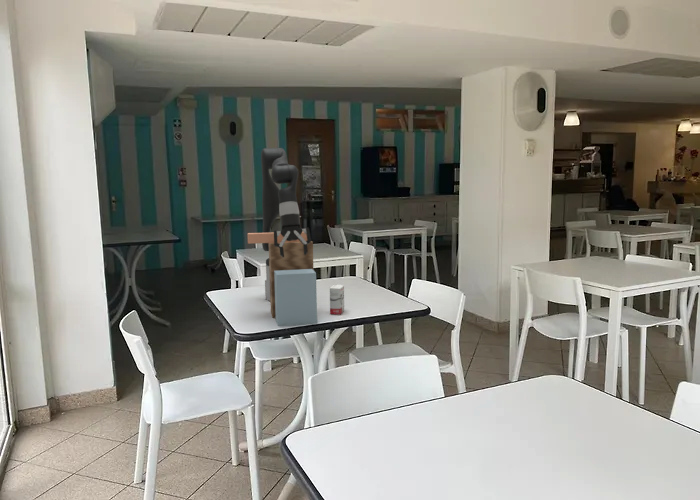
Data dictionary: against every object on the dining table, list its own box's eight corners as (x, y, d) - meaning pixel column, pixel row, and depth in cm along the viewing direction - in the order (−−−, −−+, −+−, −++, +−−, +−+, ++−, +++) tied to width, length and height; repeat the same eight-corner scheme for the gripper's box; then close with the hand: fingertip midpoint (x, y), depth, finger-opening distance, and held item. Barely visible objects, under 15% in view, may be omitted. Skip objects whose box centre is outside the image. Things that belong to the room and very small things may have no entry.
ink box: (340, 315, 238) (340, 288, 237) (329, 314, 239) (329, 288, 238) (344, 310, 247) (344, 284, 245) (334, 309, 248) (333, 284, 246)
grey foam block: (277, 326, 222) (276, 274, 219) (275, 319, 232) (274, 270, 229) (317, 323, 225) (316, 272, 223) (313, 317, 235) (312, 268, 232)
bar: (248, 243, 231) (247, 234, 230) (247, 242, 235) (247, 233, 234) (309, 241, 237) (309, 232, 236) (308, 240, 240) (307, 231, 240)
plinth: (272, 318, 234) (270, 243, 230) (270, 312, 244) (268, 240, 240) (314, 315, 238) (312, 242, 234) (310, 309, 248) (309, 239, 244)
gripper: (306, 215, 219) (311, 255, 217) (271, 218, 217) (275, 259, 214) (308, 211, 212) (313, 252, 210) (271, 214, 209) (275, 256, 207)
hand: (294, 255), depth 212 cm, fingers open, 8 cm apart
